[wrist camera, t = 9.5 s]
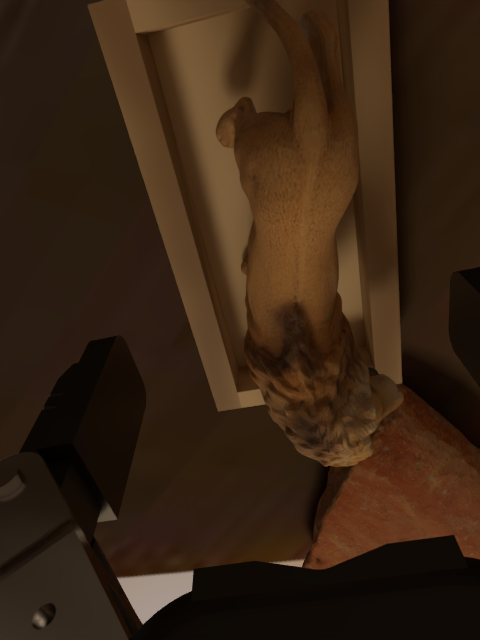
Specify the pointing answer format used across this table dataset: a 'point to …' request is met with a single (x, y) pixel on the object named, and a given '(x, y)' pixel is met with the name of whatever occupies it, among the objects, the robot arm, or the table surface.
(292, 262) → the lion figurine
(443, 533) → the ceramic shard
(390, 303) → the rectangular tray
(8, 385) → the table surface
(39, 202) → the table surface
